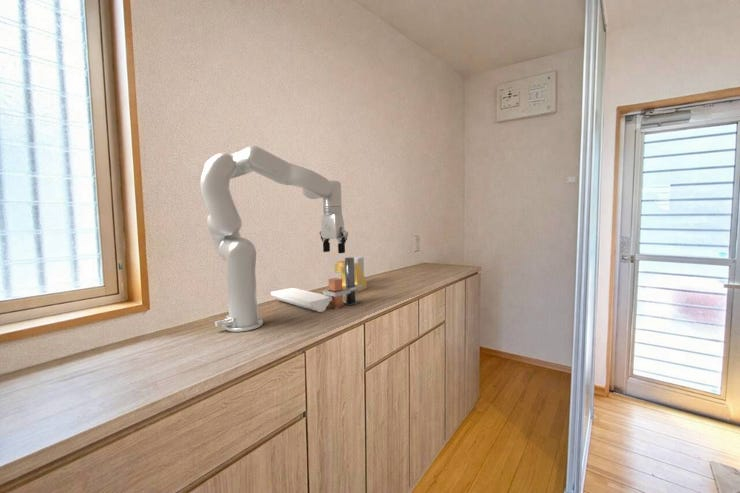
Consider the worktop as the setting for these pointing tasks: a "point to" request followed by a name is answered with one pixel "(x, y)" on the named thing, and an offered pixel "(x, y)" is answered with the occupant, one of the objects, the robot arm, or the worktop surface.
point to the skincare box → (359, 260)
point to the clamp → (357, 270)
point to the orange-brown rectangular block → (336, 286)
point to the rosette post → (347, 285)
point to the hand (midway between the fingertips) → (333, 252)
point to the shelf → (303, 298)
